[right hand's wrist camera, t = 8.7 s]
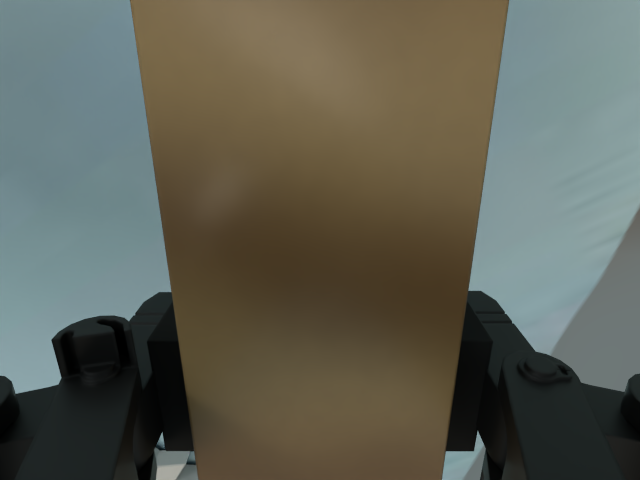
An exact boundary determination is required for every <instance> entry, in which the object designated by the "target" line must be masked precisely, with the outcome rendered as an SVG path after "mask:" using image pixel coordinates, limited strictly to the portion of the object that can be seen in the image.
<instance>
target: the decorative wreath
mask: <svg viewBox="0 0 640 480" xmlns="http://www.w3.org/2000/svg"><path fill="white" fill-rule="evenodd" d="M154 451H155V456H156V462H157V475H156V480H198V475H197V467H196V465H186V462H187V459H188V457H189V454H190V451H166V450H162V451H160V450H158V449H157V448H156V447H155V449H154Z"/></svg>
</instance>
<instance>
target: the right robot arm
mask: <svg viewBox="0 0 640 480" xmlns="http://www.w3.org/2000/svg"><path fill="white" fill-rule="evenodd" d="M52 344H53V347H54V351H55V355H56V358H57V362H58V366H59V369H60V373H61V377H62V378H61V380H60V383H59V385H55V386H52V387H47V388H43V389H38V390H33V391H28V392H23V393H18V394H15V390H14V387H13V384H12V381H10V380H9V379H8V378H6V377H5V376H0V480H156V475H157V462H156V456H155V451H154V449H155V447H156V445H157V442H158V440H159V438H160V436H161V433H162V432H163V438H164V443H165V449H166V451H194V446H193V439H192V432H191V425H190V418H189V411H188V404H187V397H186V390H185V383H184V376H183V369H182V362H181V355H180V348H179V341H178V334H177V327H176V320H175V313H174V306H173V299H172V292H159V293H157V294H156V295H154V296H153V297H151V298H150V299H148V300H146V301H145V302H144V303H143V304H142V305H141V307H140V308H139V309H138V311H137V312H136V313H135V316H133V317H132V318H131V320H130V321H128V320H126V319H125V318H122V317H118V316H97V317H92V318H88V319H84V320H81V321H79V322H76V323H73V324H71V325H69V326H68V327H66V328H64V329H63V330H61V331H59V332H58V333H57V334H56V336H55V337H54V338H53V339H52ZM477 430H478V432H479V434H480V436H481V438H482V441H483V443H484V445H485V448H486V451H485V456H484V461H483V467H482V472H481V477H480V480H640V374H635V375H634V376H633V377H631V378H630V379H629V380H628V383H627V386H626V389H625V392H621V391H616V390H611V389H606V388H602V387H597V386H592V385H588V384H584V383H581V382H580V380H579V378H578V376H577V375H576V374H575V372H574V371H573V370H572V368H570V367H569V366H568V365H566V364H565V363H563V362H562V361H561V360H558V359H556V358H554V357H552V356H549V355H547V354H543V353H539V352H535V350H534V349H533V348H532V346H531V345H530V344H529V343H528V341H527V340H526V339H525V337H524V336H523V335H522V334H521V332H520V331H519V330H518V328H517V327H516V326H515V325H514V324H512V321H511V319H510V318H509V317H508V315H507V314H505V312H504V310H503V309H502V308H501V306H500V305H499V304H498V303H497V301H496V300H494V299H493V298H491V297H490V296H488V295H486V294H485V293H483V292H482V291H468V296H467V303H466V310H465V318H464V325H463V332H462V339H461V346H460V353H459V360H458V367H457V374H456V382H455V389H454V396H453V403H452V410H451V417H450V424H449V431H448V438H447V446H446V451H474V447H475V442H476V436H477Z"/></svg>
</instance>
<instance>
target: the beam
mask: <svg viewBox="0 0 640 480" xmlns="http://www.w3.org/2000/svg"><path fill="white" fill-rule="evenodd" d="M130 3H131V10H132V17H133V24H134V31H135V38H136V45H137V52H138V59H139V66H140V73H141V80H142V88H143V95H144V102H145V109H146V116H147V123H148V130H149V137H150V144H151V151H152V158H153V165H154V172H155V179H156V186H157V193H158V200H159V207H160V214H161V221H162V228H163V235H164V242H165V249H166V256H167V263H168V270H169V277H170V285H171V292H172V299H173V306H174V313H175V320H176V327H177V334H178V341H179V348H180V355H181V362H182V369H183V376H184V383H185V390H186V397H187V404H188V411H189V418H190V425H191V432H192V439H193V446H194V453H195V460H196V467H197V475H198V480H442V474H443V467H444V460H445V453H446V446H447V438H448V431H449V424H450V417H451V410H452V403H453V396H454V389H455V382H456V374H457V367H458V360H459V353H460V346H461V339H462V332H463V325H464V318H465V310H466V303H467V296H468V289H469V282H470V275H471V268H472V261H473V254H474V246H475V239H476V232H477V225H478V218H479V211H480V204H481V197H482V190H483V182H484V175H485V168H486V161H487V154H488V147H489V140H490V133H491V126H492V118H493V111H494V104H495V97H496V90H497V83H498V76H499V69H500V62H501V54H502V47H503V40H504V33H505V26H506V19H507V12H508V5H509V0H130Z"/></svg>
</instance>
